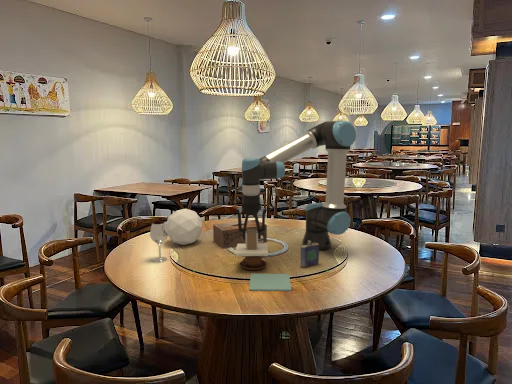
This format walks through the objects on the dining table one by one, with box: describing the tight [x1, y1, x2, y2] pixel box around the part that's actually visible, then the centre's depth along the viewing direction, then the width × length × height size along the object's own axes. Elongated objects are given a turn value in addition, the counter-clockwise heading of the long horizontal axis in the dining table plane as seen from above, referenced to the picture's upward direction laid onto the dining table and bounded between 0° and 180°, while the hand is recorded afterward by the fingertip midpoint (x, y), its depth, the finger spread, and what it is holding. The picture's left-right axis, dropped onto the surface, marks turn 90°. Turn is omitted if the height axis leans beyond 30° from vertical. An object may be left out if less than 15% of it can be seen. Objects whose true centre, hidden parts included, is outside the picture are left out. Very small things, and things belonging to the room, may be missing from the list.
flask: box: [299, 240, 320, 269], centre depth 169 cm, size 10×3×12 cm, turn 121°
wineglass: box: [149, 221, 169, 263], centre depth 177 cm, size 8×8×18 cm
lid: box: [234, 230, 269, 257], centre depth 166 cm, size 14×14×9 cm
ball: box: [165, 208, 203, 246], centre depth 204 cm, size 19×20×20 cm
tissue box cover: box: [212, 219, 268, 250], centre depth 207 cm, size 26×14×10 cm, turn 116°
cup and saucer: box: [239, 256, 268, 271], centre depth 168 cm, size 12×12×6 cm
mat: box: [248, 273, 292, 292], centre depth 151 cm, size 16×16×1 cm
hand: (252, 246), depth 166 cm, fingers closed on lid, 4 cm apart
